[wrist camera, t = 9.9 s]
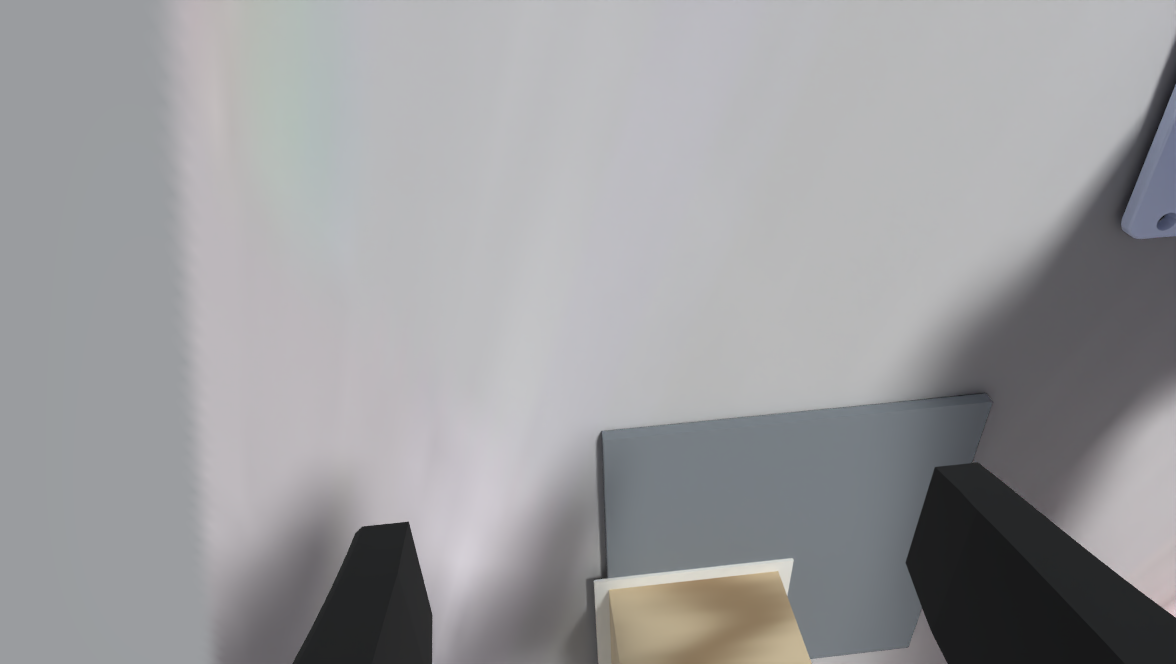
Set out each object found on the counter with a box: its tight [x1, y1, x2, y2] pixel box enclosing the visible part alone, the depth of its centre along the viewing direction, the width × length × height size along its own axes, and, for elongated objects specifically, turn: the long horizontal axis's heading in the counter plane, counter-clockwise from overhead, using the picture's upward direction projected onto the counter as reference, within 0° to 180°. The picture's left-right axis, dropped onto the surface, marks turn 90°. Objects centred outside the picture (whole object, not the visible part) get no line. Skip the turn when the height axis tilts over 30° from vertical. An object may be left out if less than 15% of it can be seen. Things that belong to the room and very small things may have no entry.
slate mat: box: [594, 393, 993, 664], centre depth 28 cm, size 12×14×1 cm
